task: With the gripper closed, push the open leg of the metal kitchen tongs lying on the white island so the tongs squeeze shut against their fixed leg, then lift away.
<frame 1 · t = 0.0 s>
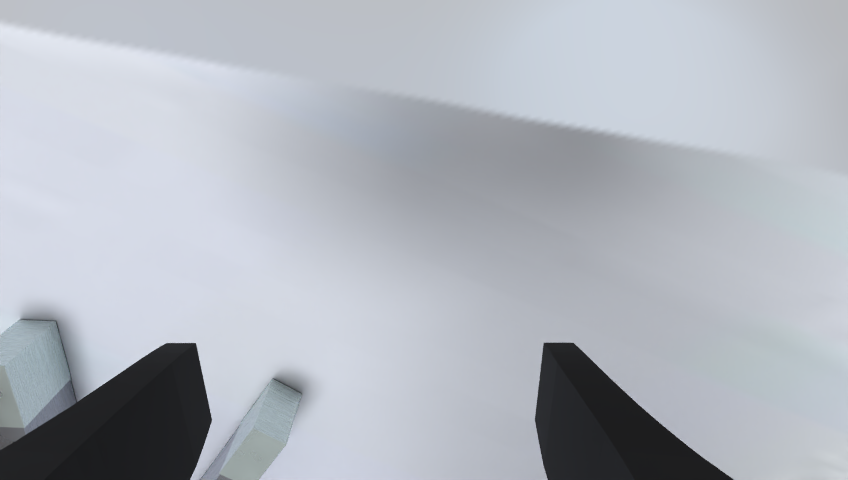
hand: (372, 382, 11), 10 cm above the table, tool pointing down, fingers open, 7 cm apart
tongs moving leg: (53, 470, 24), point 1 cm above the table, hinge at 32.0°
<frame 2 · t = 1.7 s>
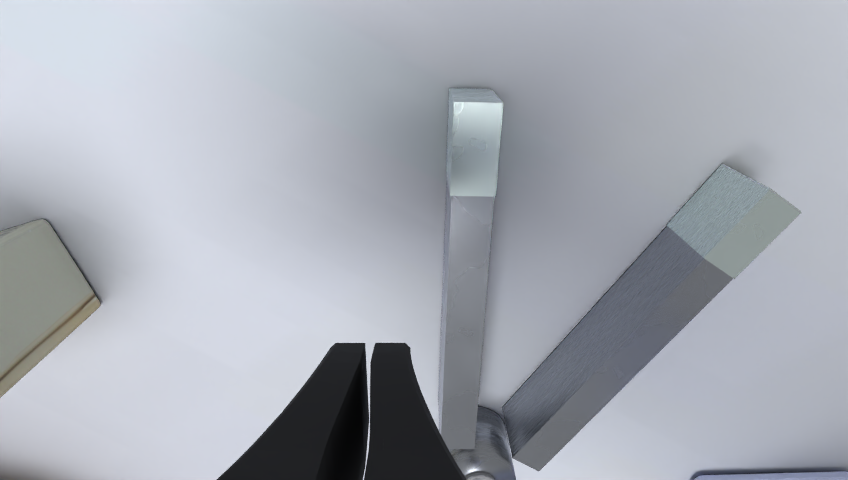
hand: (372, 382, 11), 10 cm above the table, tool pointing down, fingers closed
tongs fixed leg: (472, 432, 25), on the table
skincare box: (17, 276, 22), on the table
tongs moving leg: (463, 282, 20), point 1 cm above the table, hinge at 32.0°
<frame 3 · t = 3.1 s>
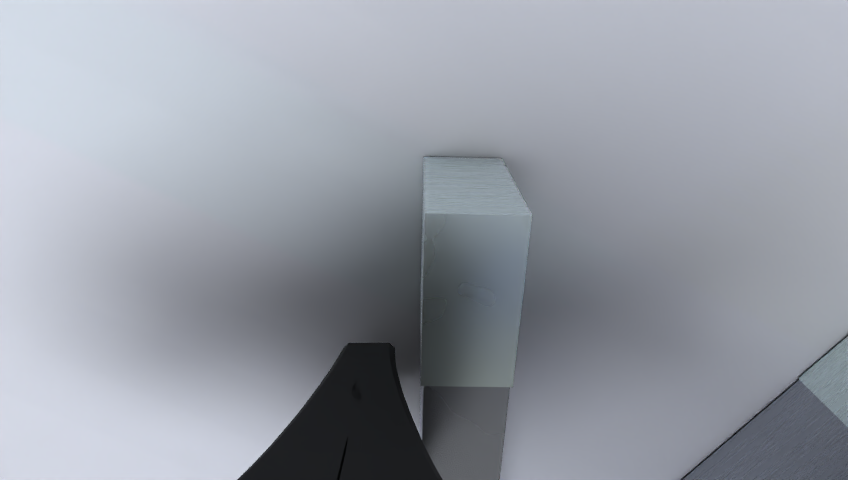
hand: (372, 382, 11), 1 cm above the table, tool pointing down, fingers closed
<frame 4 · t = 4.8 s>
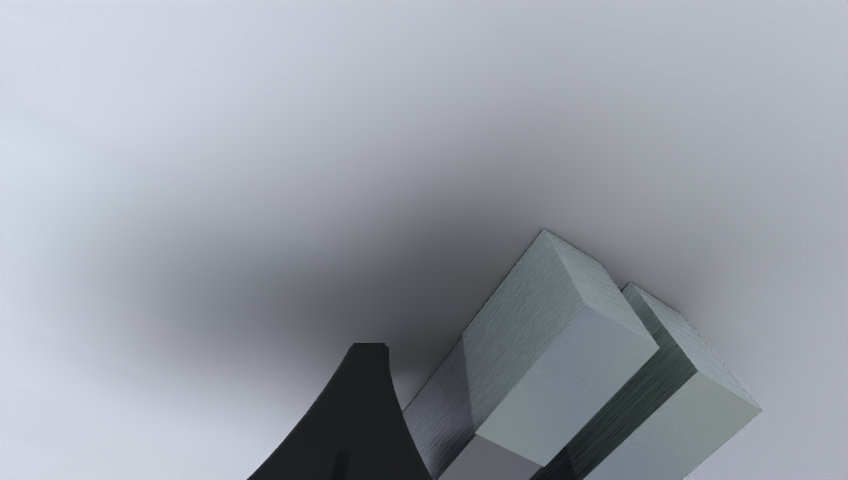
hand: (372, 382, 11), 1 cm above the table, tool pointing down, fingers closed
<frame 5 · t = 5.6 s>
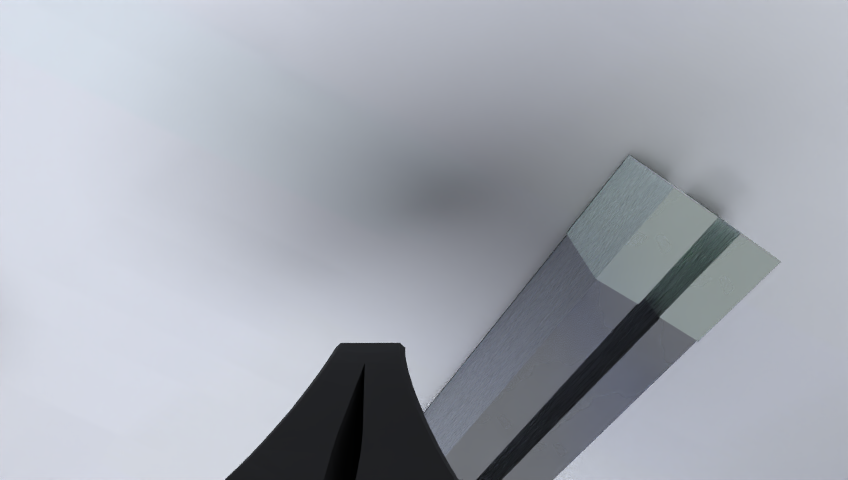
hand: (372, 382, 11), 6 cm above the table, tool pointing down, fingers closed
tongs moving leg: (519, 360, 17), point 1 cm above the table, hinge at 1.2°
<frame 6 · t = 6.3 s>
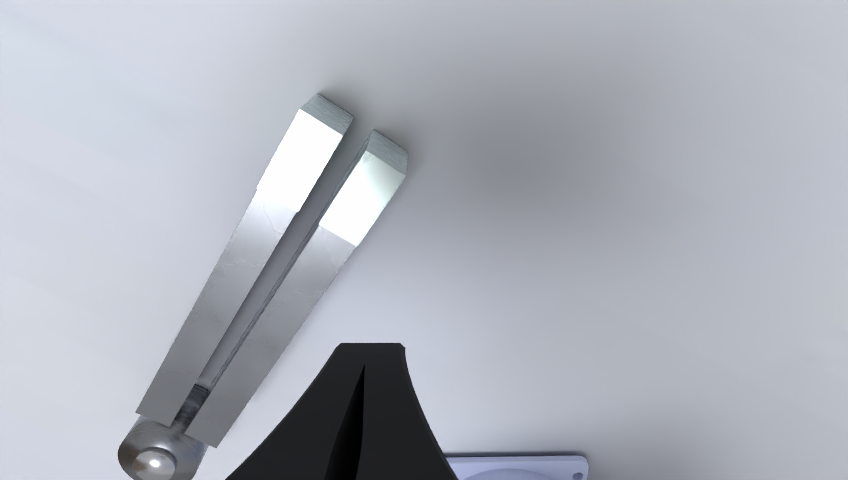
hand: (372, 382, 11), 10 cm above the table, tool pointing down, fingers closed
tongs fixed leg: (186, 409, 24), on the table
tongs moving leg: (239, 270, 20), point 1 cm above the table, hinge at 1.2°
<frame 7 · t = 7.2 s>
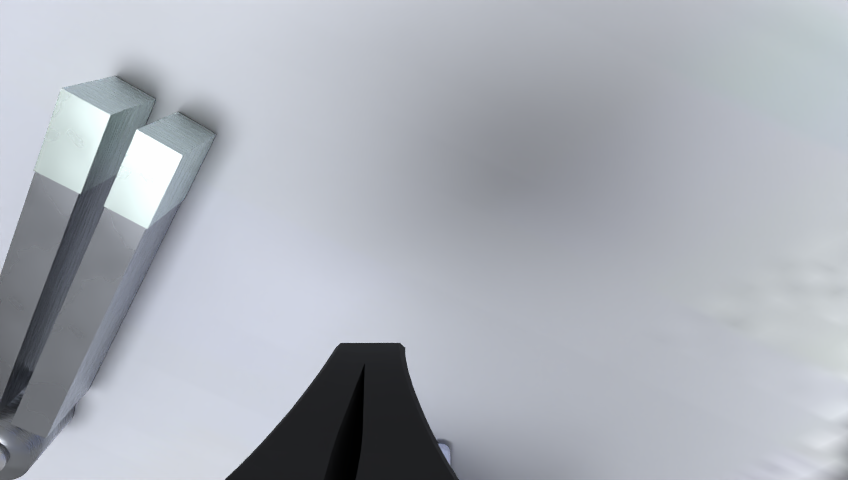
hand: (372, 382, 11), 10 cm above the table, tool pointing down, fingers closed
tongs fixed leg: (38, 402, 24), on the table
tongs moving leg: (51, 257, 20), point 2 cm above the table, hinge at 1.2°
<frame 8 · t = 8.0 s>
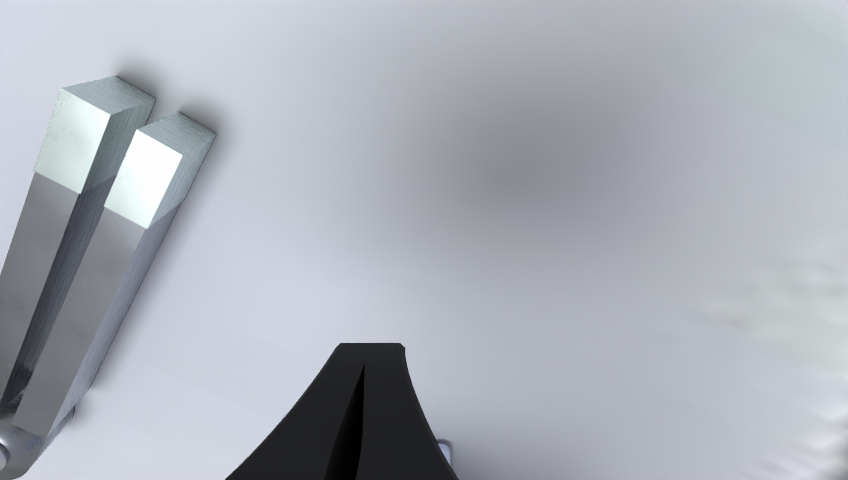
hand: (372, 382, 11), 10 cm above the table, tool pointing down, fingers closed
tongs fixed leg: (38, 402, 24), on the table
tongs moving leg: (51, 257, 20), point 2 cm above the table, hinge at 1.2°
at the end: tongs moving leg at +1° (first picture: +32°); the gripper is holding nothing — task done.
